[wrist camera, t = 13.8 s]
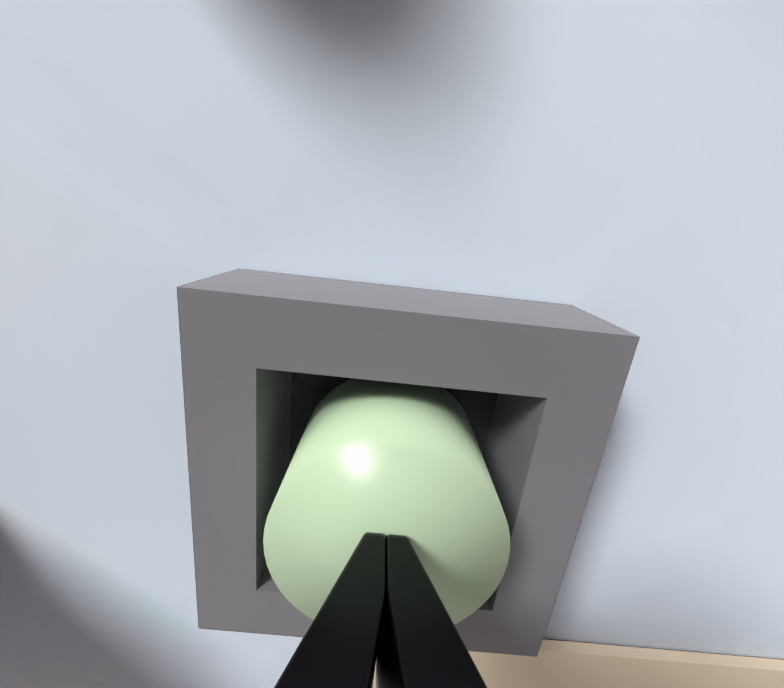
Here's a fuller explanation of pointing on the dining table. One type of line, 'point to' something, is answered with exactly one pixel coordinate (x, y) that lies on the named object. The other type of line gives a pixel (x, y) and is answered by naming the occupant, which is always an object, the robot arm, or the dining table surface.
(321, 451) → the button
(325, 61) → the dining table surface
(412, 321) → the button housing
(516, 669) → the sheet
